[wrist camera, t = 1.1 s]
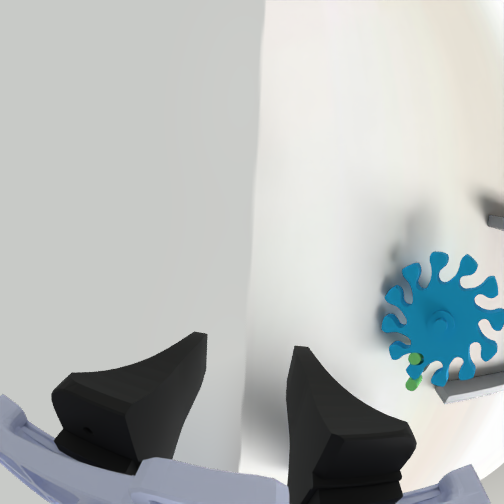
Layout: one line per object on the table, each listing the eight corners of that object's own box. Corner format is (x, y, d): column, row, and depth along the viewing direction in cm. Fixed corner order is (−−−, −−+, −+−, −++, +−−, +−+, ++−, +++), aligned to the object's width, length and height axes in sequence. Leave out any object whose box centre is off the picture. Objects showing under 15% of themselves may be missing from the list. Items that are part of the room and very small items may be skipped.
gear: (407, 228, 17) (530, 292, 10) (427, 227, 20) (522, 276, 13) (353, 357, 20) (446, 421, 14) (383, 334, 24) (461, 384, 17)
